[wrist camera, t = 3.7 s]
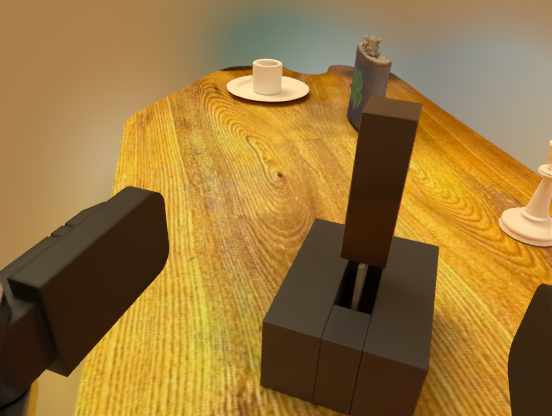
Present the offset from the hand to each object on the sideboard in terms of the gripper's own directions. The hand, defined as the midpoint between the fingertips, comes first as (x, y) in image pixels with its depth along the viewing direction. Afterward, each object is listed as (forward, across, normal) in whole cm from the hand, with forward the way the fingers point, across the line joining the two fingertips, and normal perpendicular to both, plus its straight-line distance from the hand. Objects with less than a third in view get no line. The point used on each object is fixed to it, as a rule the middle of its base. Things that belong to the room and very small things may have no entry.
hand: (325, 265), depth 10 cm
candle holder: (+55, +21, +16) cm, 61 cm away
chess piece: (+31, -12, +16) cm, 36 cm away
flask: (+49, +6, +16) cm, 51 cm away
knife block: (+13, 0, +16) cm, 20 cm away
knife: (+13, 0, +16) cm, 20 cm away
